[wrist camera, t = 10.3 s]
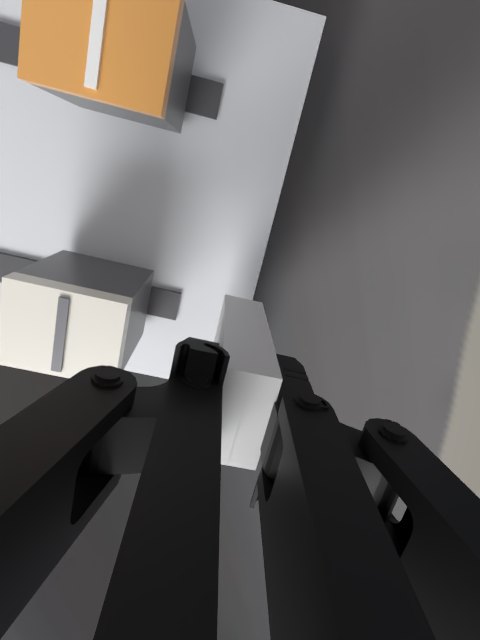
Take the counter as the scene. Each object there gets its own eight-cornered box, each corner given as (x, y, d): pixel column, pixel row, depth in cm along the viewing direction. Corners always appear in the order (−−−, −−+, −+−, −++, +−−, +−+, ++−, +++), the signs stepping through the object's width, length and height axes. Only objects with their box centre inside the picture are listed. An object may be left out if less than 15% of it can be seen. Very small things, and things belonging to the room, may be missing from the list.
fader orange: (90, 16, 14) (23, -61, 9) (196, 47, 14) (181, -14, 10) (80, 107, 15) (15, 76, 10) (180, 133, 15) (160, 115, 11)
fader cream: (63, 249, 16) (0, 278, 12) (154, 270, 17) (126, 305, 12) (56, 315, 17) (-6, 365, 13) (143, 334, 18) (113, 388, 13)
